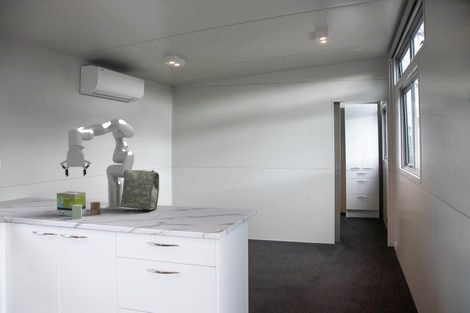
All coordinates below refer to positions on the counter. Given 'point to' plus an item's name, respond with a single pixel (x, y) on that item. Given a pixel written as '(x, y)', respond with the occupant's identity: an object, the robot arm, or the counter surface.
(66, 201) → the tea box
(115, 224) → the counter surface
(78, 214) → the green block
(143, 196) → the bag
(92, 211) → the walnut block
